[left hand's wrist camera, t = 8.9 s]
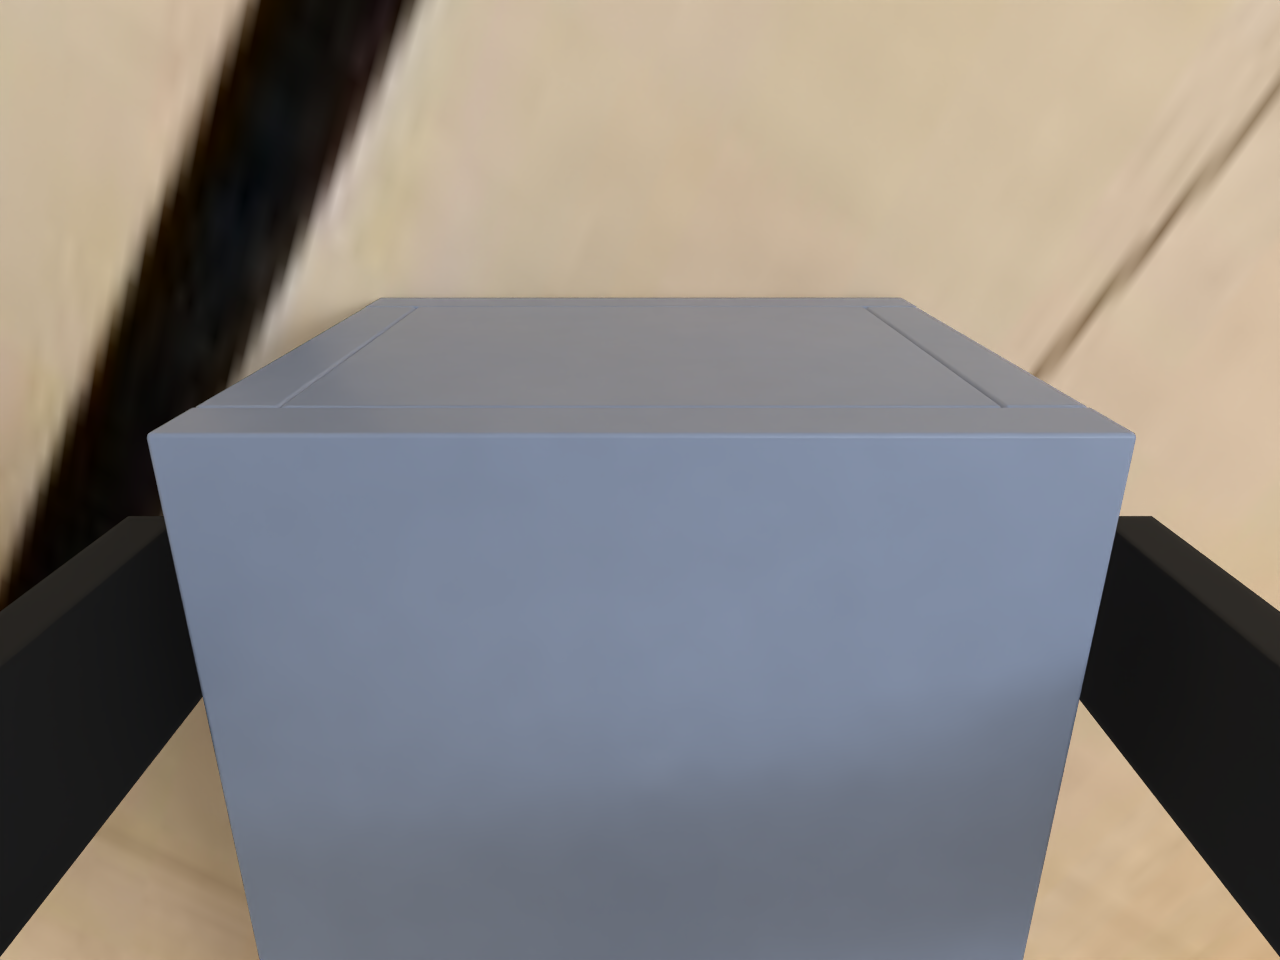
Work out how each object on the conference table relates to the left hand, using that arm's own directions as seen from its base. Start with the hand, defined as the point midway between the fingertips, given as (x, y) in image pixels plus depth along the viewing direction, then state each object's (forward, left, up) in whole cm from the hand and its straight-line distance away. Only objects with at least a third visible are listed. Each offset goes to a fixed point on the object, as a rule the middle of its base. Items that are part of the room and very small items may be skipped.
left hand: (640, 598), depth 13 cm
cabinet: (+7, -3, -5) cm, 9 cm away
